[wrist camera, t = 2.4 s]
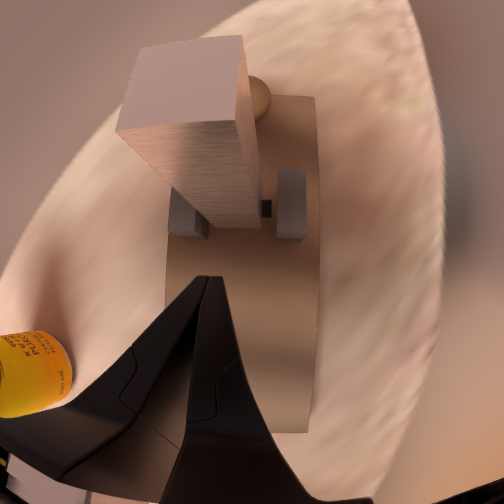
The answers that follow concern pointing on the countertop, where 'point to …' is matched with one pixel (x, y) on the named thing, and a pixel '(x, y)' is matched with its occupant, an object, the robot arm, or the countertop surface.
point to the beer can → (32, 373)
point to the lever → (198, 127)
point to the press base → (266, 261)
